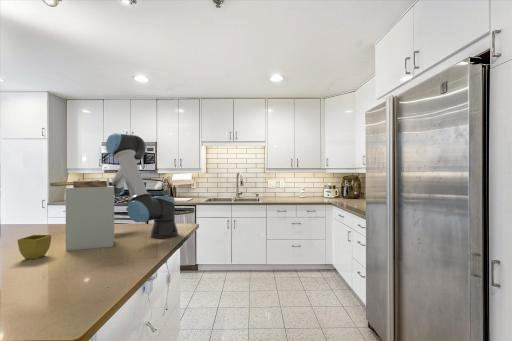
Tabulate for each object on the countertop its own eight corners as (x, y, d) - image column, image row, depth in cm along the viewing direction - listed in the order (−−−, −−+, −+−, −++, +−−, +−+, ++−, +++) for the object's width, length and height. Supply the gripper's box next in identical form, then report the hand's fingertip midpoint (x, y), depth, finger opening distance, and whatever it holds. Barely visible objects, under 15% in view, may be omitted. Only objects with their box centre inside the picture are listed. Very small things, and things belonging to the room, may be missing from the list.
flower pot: (36, 260, 120) (36, 239, 120) (16, 260, 121) (16, 239, 121) (52, 254, 129) (52, 234, 129) (33, 254, 129) (33, 234, 129)
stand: (114, 241, 152) (114, 185, 152) (112, 246, 143) (112, 186, 143) (70, 245, 144) (70, 186, 144) (65, 250, 135) (65, 187, 135)
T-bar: (110, 184, 162) (110, 179, 162) (105, 186, 142) (105, 180, 142) (81, 185, 157) (81, 180, 157) (73, 187, 137) (73, 181, 137)
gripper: (121, 202, 171) (119, 186, 154) (73, 204, 161) (65, 187, 144) (122, 191, 174) (119, 174, 157) (74, 192, 165) (66, 174, 148)
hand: (93, 180), depth 151 cm, fingers open, 13 cm apart
